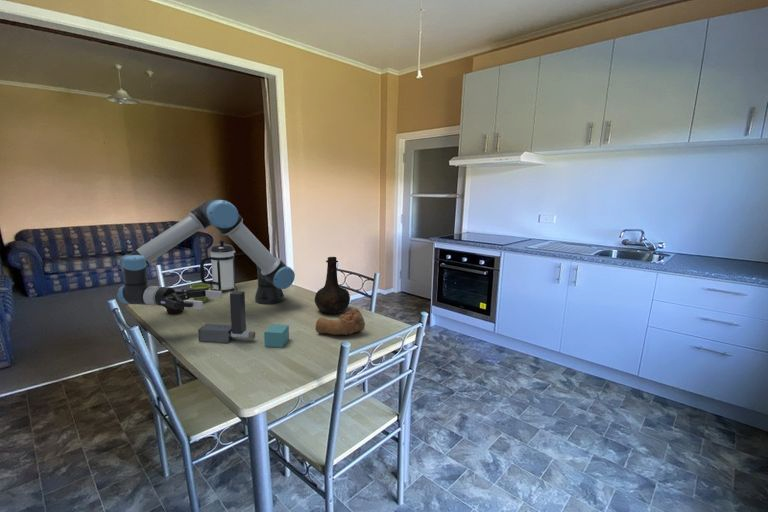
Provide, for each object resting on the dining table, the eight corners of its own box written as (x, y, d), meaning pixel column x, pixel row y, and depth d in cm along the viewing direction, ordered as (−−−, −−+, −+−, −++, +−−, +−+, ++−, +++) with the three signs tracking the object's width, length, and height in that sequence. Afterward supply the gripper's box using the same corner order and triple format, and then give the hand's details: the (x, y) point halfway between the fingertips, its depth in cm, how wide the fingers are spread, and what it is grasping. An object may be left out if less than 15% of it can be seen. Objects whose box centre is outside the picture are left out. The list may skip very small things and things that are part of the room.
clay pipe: (354, 350, 142) (370, 327, 154) (352, 330, 137) (368, 308, 149) (316, 339, 149) (334, 319, 161) (312, 320, 144) (331, 300, 156)
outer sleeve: (199, 341, 136) (198, 329, 136) (207, 335, 142) (206, 323, 141) (228, 343, 136) (227, 331, 135) (235, 336, 142) (235, 325, 141)
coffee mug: (189, 309, 170) (187, 290, 169) (177, 315, 162) (175, 295, 160) (167, 308, 171) (165, 289, 170) (154, 314, 163) (152, 294, 161)
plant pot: (191, 299, 185) (190, 284, 184) (211, 298, 189) (210, 282, 188) (190, 305, 177) (189, 289, 175) (210, 303, 181) (209, 287, 179)
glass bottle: (344, 318, 166) (345, 262, 161) (309, 315, 169) (308, 259, 163) (353, 306, 183) (354, 255, 178) (321, 304, 186) (321, 253, 181)
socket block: (264, 346, 134) (264, 332, 133) (272, 337, 142) (272, 324, 141) (282, 347, 134) (281, 333, 133) (289, 338, 142) (288, 325, 140)
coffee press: (216, 286, 212) (213, 237, 206) (242, 287, 212) (240, 238, 206) (201, 294, 195) (197, 242, 189) (228, 295, 195) (226, 243, 189)
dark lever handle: (205, 338, 137) (202, 292, 134) (210, 334, 141) (207, 289, 138) (251, 341, 136) (249, 294, 133) (256, 336, 140) (254, 291, 137)
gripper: (181, 296, 150) (228, 299, 149) (137, 316, 125) (193, 319, 124) (180, 279, 148) (227, 282, 147) (135, 296, 124) (192, 299, 123)
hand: (212, 299), depth 136 cm, fingers open, 13 cm apart
